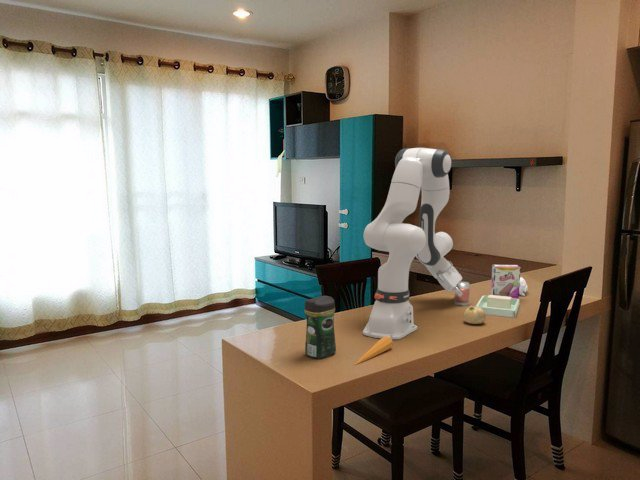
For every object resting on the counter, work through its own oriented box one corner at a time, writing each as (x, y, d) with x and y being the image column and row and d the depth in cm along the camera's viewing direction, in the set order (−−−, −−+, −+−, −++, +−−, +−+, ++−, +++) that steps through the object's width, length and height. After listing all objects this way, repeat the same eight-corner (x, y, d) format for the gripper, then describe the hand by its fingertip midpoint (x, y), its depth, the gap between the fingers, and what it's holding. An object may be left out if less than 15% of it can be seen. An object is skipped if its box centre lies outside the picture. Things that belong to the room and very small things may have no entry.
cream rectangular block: (509, 309, 205) (510, 299, 204) (487, 306, 209) (487, 297, 208) (511, 306, 209) (511, 296, 209) (488, 303, 213) (489, 294, 213)
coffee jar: (323, 347, 164) (323, 292, 162) (339, 353, 158) (339, 296, 156) (300, 354, 158) (299, 297, 155) (316, 361, 152) (316, 302, 149)
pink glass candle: (467, 308, 209) (468, 285, 208) (452, 306, 212) (453, 283, 211) (470, 304, 215) (470, 282, 213) (455, 303, 217) (456, 280, 216)
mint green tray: (514, 319, 193) (515, 310, 192) (475, 315, 199) (475, 306, 199) (519, 306, 211) (519, 298, 210) (482, 303, 217) (482, 295, 217)
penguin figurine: (510, 276, 230) (518, 274, 239) (508, 294, 230) (517, 292, 240) (524, 278, 226) (532, 276, 235) (522, 296, 226) (531, 294, 236)
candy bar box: (492, 303, 217) (494, 266, 215) (490, 300, 222) (491, 264, 220) (519, 303, 216) (521, 266, 214) (515, 300, 221) (517, 264, 219)
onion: (466, 319, 194) (467, 301, 193) (487, 322, 190) (488, 304, 189) (461, 324, 188) (461, 306, 187) (482, 327, 184) (483, 309, 183)
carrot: (386, 348, 165) (381, 335, 165) (396, 346, 162) (391, 333, 162) (351, 373, 150) (345, 359, 150) (362, 371, 147) (356, 357, 147)
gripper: (441, 268, 205) (464, 294, 202) (451, 260, 223) (472, 284, 220) (430, 278, 207) (453, 303, 204) (441, 269, 226) (462, 292, 223)
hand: (463, 293), depth 212 cm, fingers closed on pink glass candle, 6 cm apart
